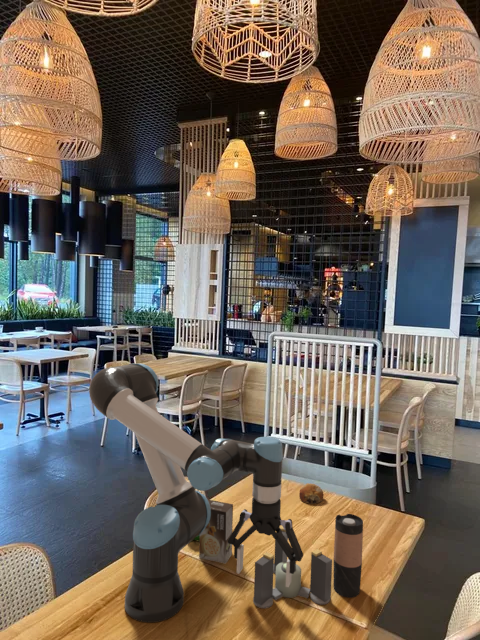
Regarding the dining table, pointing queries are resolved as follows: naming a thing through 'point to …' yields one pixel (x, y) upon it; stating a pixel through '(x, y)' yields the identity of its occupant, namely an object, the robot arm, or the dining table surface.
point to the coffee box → (217, 533)
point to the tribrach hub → (295, 583)
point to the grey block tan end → (279, 551)
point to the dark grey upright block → (264, 581)
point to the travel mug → (348, 555)
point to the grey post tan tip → (320, 578)
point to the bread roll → (311, 493)
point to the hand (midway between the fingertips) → (263, 577)
